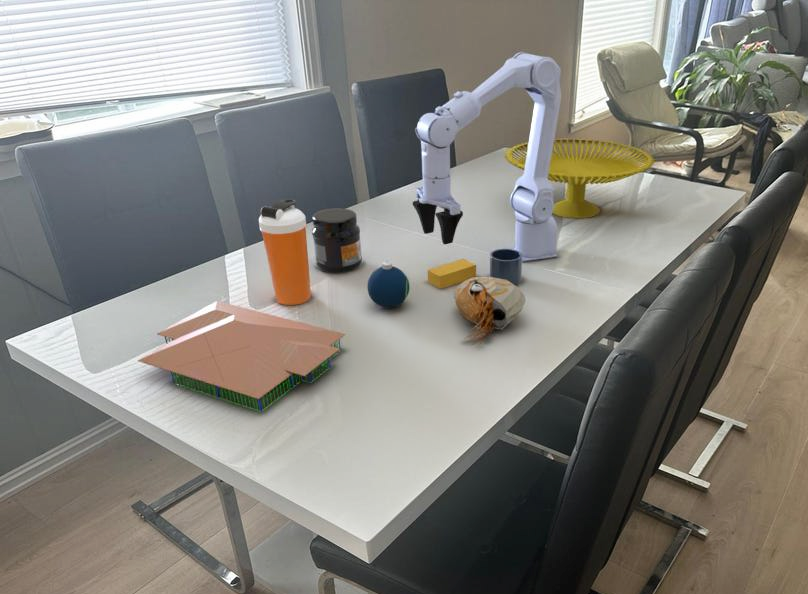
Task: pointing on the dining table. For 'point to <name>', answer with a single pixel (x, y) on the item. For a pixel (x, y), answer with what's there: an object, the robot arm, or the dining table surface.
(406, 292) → the christmas ornament
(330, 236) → the supplement container
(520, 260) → the espresso cup
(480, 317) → the nautilus
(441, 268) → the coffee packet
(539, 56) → the robot arm
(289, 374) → the house
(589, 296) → the dining table surface
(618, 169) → the cake stand
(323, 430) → the dining table surface
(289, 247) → the shaker bottle
